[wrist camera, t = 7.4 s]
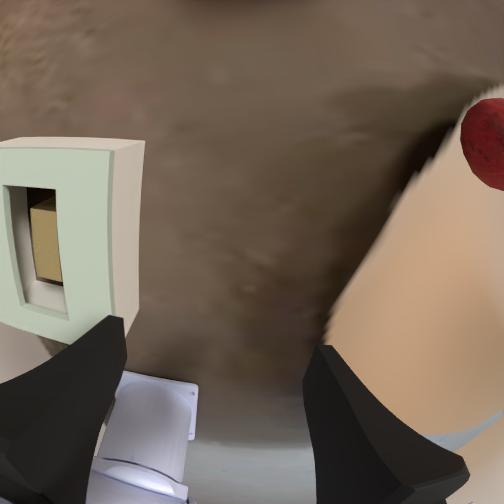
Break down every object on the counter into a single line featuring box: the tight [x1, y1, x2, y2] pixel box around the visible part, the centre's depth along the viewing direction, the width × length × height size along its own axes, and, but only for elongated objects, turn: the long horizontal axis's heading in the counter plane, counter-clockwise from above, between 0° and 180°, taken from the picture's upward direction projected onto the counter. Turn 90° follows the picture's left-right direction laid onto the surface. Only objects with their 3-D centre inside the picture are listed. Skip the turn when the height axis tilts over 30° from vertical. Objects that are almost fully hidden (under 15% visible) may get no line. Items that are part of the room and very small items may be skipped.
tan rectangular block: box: [30, 195, 63, 282], centre depth 17 cm, size 4×2×4 cm, turn 170°
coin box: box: [0, 137, 145, 345], centre depth 17 cm, size 12×10×5 cm
